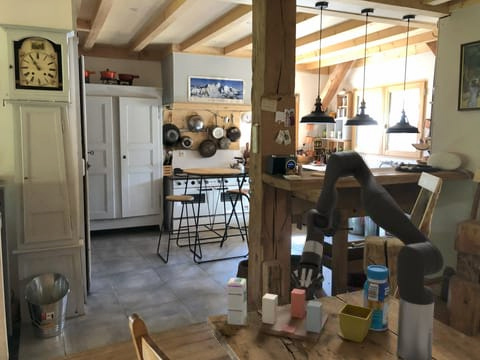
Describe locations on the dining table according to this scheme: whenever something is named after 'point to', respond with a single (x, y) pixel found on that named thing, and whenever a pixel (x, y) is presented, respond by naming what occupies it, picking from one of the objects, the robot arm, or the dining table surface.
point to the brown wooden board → (292, 326)
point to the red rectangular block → (298, 303)
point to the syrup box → (236, 301)
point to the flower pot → (355, 321)
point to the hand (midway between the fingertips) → (302, 297)
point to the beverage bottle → (377, 296)
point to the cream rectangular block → (269, 308)
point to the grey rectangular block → (314, 316)
